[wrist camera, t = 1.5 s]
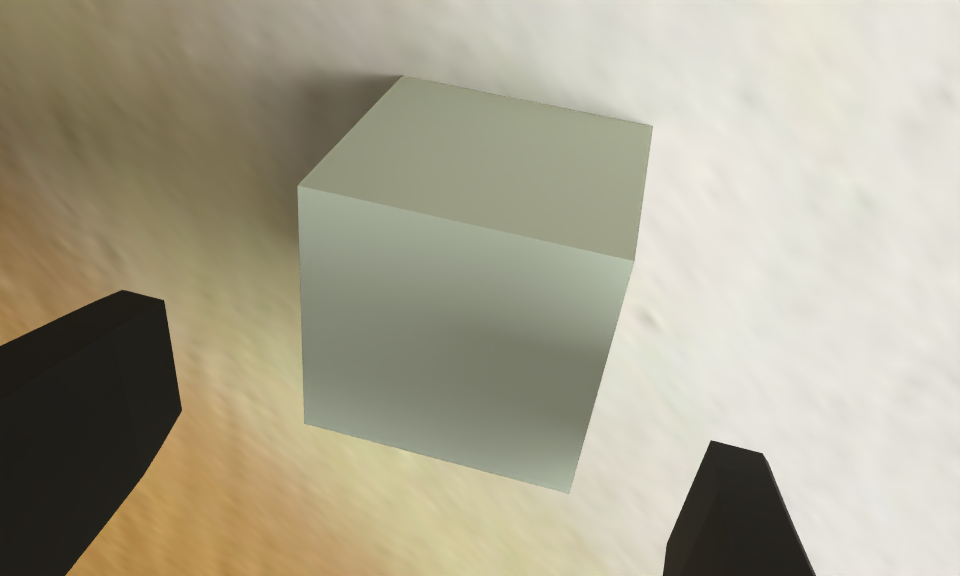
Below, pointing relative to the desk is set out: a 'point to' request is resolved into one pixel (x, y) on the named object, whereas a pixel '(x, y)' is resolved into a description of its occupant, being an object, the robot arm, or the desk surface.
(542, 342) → the sage block
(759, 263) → the desk surface
